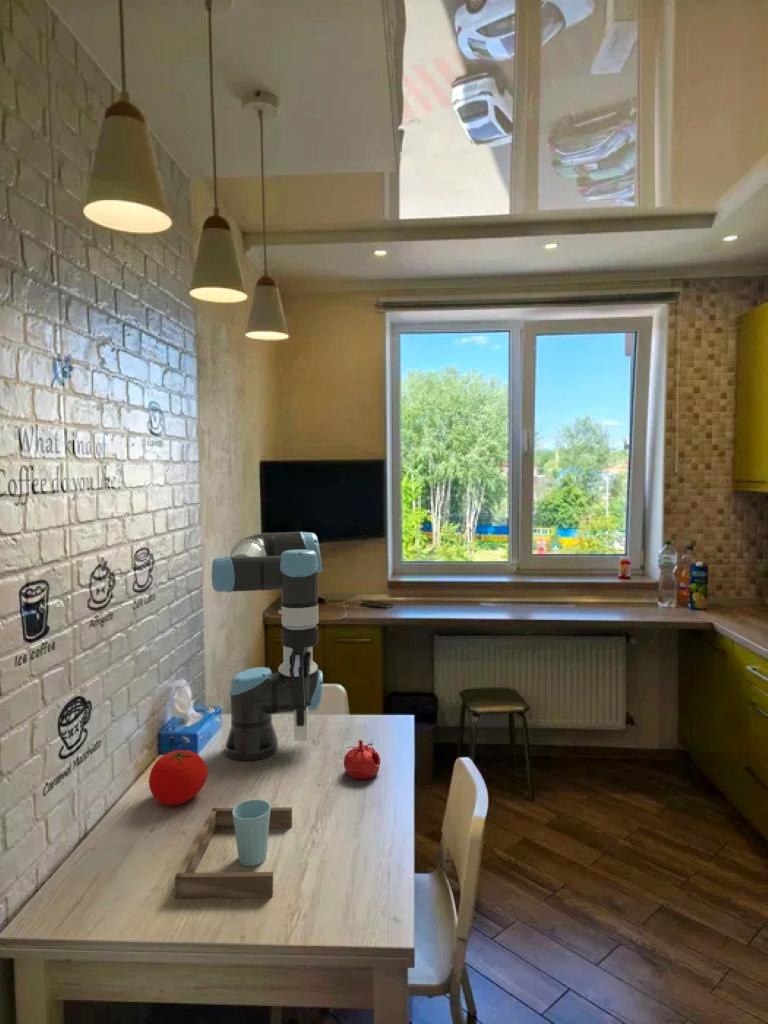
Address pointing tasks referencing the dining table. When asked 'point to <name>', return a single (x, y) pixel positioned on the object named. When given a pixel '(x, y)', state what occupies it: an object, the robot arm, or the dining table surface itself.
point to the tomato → (177, 777)
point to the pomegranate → (362, 761)
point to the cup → (252, 830)
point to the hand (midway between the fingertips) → (301, 738)
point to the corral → (225, 882)
